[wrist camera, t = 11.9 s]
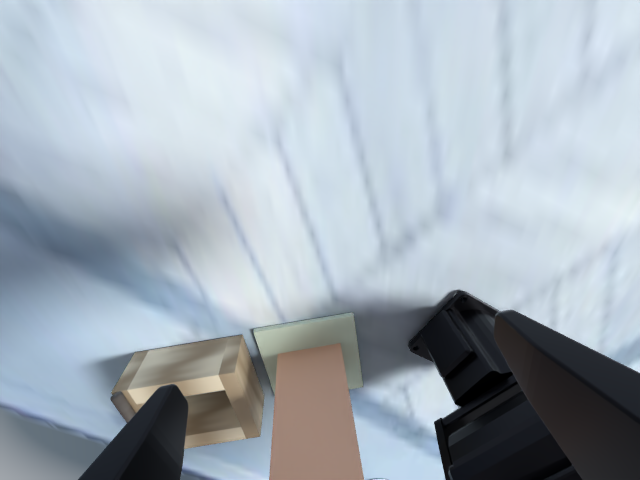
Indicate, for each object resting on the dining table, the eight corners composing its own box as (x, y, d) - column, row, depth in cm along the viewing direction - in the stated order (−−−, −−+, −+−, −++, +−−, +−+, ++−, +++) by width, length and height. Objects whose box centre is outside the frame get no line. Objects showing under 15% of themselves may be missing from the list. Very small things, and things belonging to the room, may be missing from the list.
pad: (352, 312, 24) (353, 315, 24) (362, 383, 28) (363, 387, 27) (254, 328, 24) (253, 332, 24) (276, 397, 28) (276, 401, 27)
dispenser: (242, 334, 24) (232, 381, 20) (264, 395, 27) (259, 445, 24) (134, 352, 24) (105, 402, 21) (169, 411, 28) (149, 463, 24)
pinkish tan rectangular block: (340, 343, 25) (369, 515, 15) (345, 369, 26) (374, 543, 16) (277, 353, 25) (265, 532, 15) (285, 379, 26) (279, 559, 16)
